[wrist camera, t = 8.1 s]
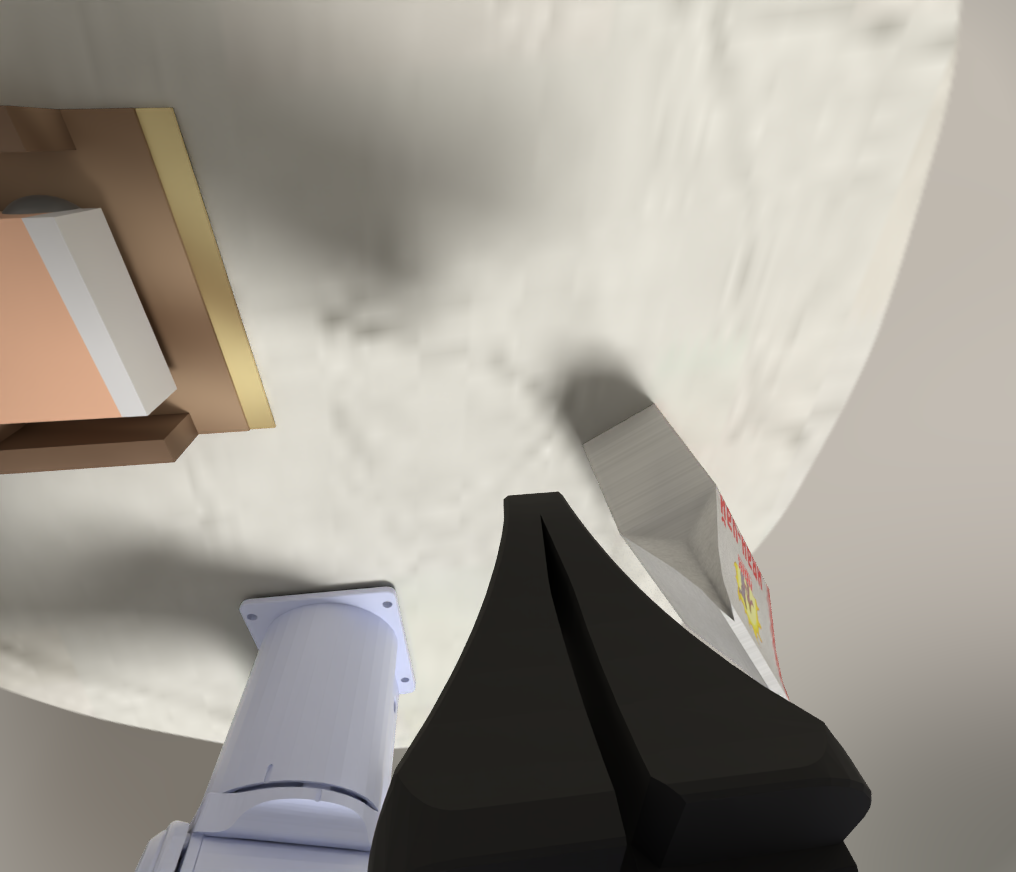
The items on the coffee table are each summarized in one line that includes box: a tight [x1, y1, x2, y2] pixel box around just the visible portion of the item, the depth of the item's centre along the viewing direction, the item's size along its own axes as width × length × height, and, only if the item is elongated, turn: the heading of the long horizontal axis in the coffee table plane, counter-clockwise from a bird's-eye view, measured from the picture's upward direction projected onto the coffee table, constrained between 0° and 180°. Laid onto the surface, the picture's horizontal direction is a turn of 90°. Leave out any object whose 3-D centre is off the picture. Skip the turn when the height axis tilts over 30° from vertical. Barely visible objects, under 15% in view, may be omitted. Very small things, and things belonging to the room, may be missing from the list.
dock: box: [0, 106, 276, 474], centre depth 16 cm, size 11×10×2 cm
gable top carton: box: [583, 404, 790, 701], centre depth 19 cm, size 4×7×10 cm, turn 33°
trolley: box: [0, 195, 177, 424], centre depth 15 cm, size 7×6×3 cm
